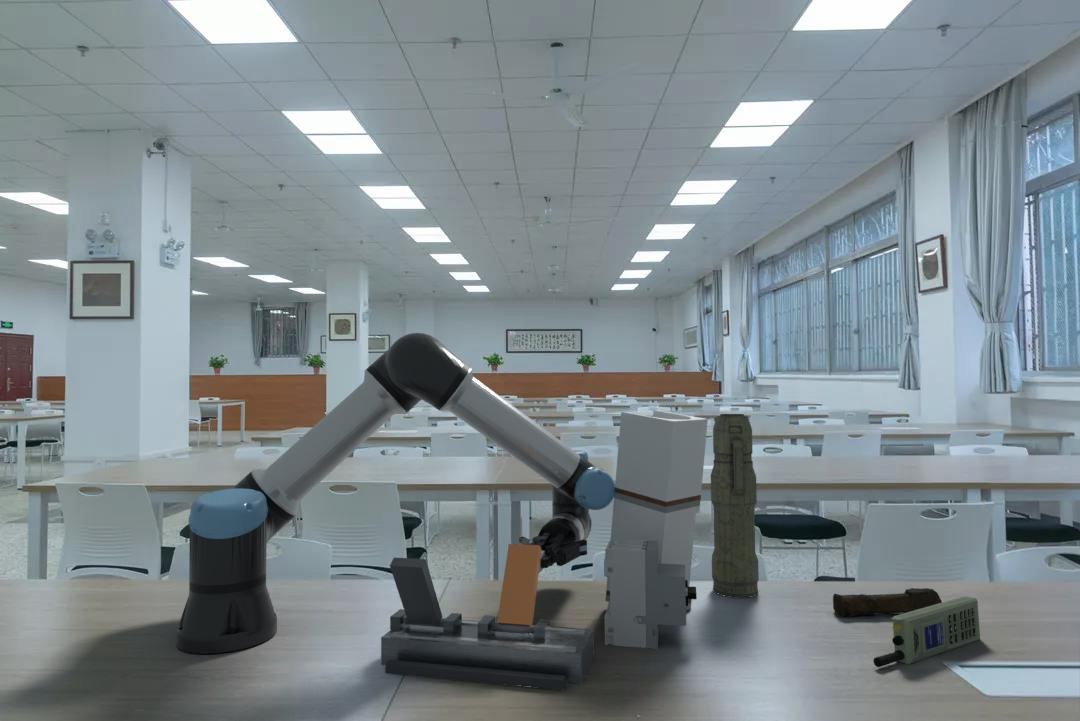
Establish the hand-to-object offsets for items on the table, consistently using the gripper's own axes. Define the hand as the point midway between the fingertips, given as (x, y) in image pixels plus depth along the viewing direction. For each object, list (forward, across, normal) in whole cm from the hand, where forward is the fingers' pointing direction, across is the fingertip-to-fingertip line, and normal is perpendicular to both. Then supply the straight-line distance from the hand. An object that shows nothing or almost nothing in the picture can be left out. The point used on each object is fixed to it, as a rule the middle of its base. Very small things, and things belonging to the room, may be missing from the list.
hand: (531, 568), depth 111 cm
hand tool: (-28, -58, -12) cm, 66 cm away
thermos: (-36, -33, -12) cm, 50 cm away
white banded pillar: (-22, -16, -11) cm, 30 cm away
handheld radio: (-9, -60, -12) cm, 62 cm away
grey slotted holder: (+8, +5, -12) cm, 15 cm away
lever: (+8, +1, -7) cm, 10 cm away
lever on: (+8, +15, -7) cm, 18 cm away
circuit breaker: (-6, -18, -12) cm, 23 cm away
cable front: (+15, +5, -12) cm, 20 cm away
